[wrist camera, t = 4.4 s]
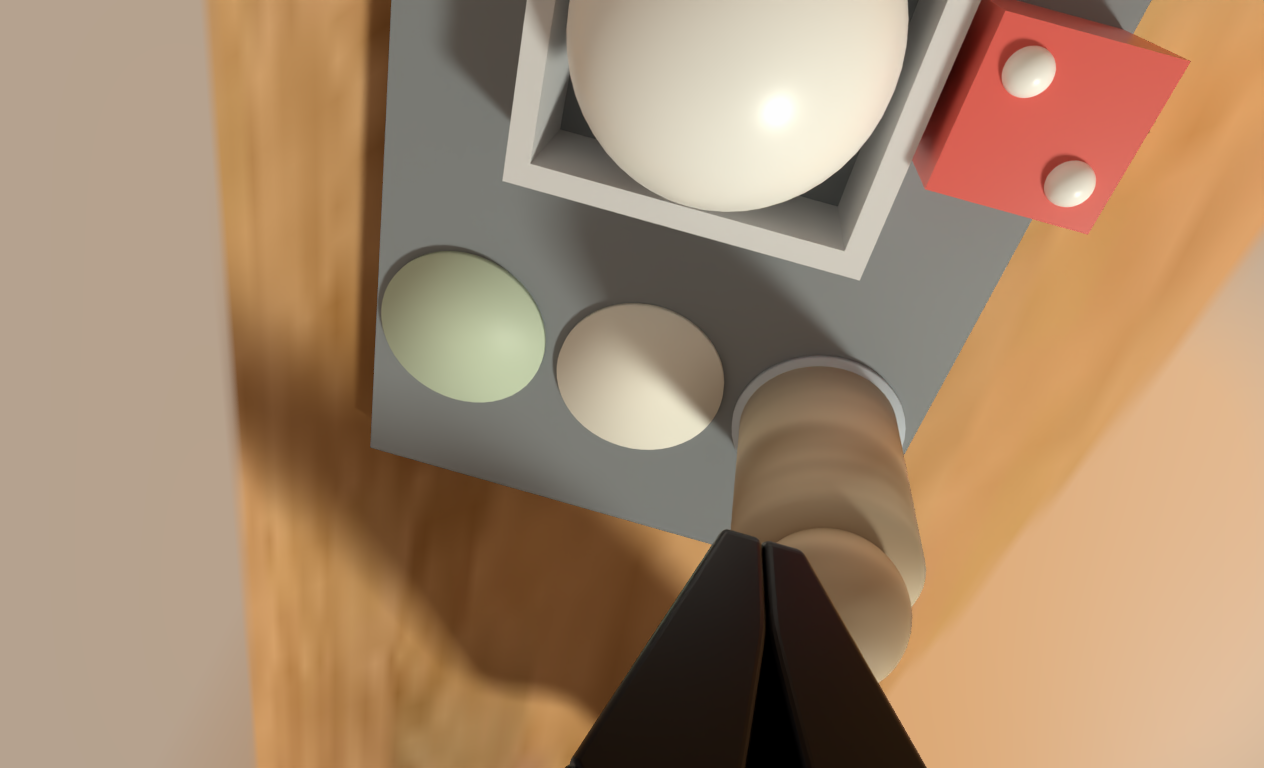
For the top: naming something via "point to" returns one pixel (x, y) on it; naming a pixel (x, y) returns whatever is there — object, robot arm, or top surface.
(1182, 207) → the top surface
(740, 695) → the robot arm
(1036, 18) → the red die
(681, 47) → the white ball
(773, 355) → the game board
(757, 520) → the pawn
